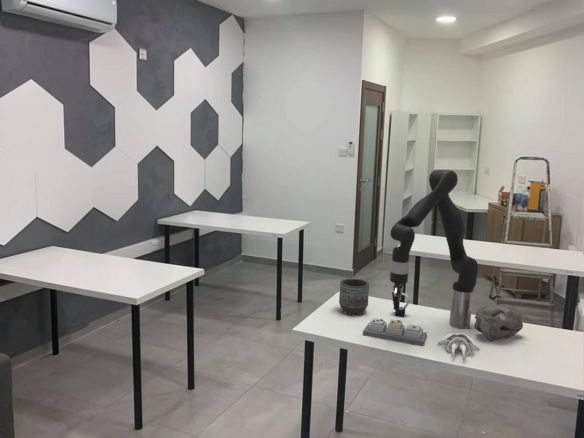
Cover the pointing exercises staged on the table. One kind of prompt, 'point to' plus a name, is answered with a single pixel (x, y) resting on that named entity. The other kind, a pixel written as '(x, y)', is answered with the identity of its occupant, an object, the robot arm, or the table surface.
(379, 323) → the button three
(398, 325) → the button two
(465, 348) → the figurine
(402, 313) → the watch
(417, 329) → the button one
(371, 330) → the keypad
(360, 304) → the planter
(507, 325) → the fossil
